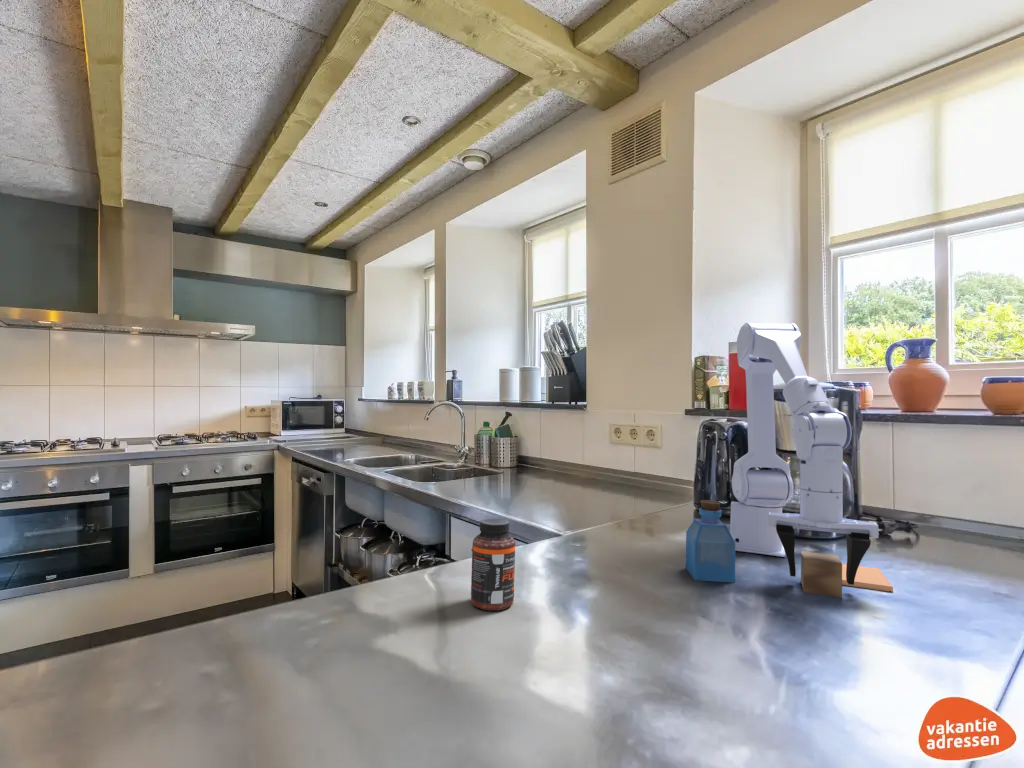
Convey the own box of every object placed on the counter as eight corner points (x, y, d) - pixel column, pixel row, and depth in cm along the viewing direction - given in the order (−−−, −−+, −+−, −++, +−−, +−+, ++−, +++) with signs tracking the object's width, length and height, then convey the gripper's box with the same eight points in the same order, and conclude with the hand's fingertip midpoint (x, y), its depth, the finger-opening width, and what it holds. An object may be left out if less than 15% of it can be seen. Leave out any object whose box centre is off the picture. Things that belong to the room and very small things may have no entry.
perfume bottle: (723, 570, 89) (723, 499, 90) (734, 582, 83) (735, 506, 84) (685, 568, 90) (686, 497, 90) (694, 580, 84) (695, 504, 84)
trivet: (817, 581, 85) (817, 576, 85) (811, 564, 94) (811, 559, 94) (892, 592, 80) (892, 586, 80) (878, 573, 89) (878, 568, 90)
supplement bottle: (509, 614, 69) (511, 527, 69) (465, 610, 70) (467, 524, 70) (517, 598, 74) (519, 517, 75) (477, 594, 76) (479, 515, 76)
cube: (803, 592, 80) (803, 559, 80) (800, 582, 84) (800, 550, 84) (841, 598, 78) (842, 564, 78) (837, 587, 82) (837, 555, 82)
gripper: (769, 489, 81) (769, 578, 80) (883, 498, 75) (883, 595, 74) (768, 483, 87) (767, 566, 87) (872, 491, 81) (872, 580, 81)
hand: (820, 578), depth 81 cm, fingers open, 7 cm apart
